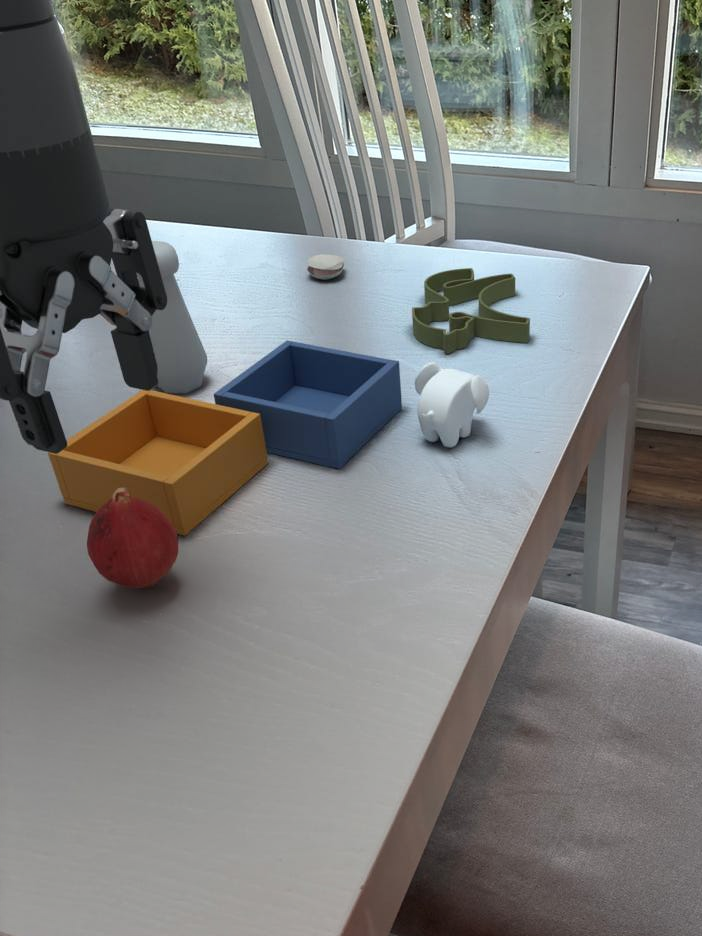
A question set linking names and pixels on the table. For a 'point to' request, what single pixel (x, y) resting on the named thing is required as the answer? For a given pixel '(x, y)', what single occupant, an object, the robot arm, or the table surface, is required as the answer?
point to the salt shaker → (175, 332)
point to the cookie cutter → (463, 325)
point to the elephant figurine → (448, 402)
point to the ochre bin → (163, 456)
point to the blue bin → (317, 400)
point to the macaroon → (325, 266)
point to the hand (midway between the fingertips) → (98, 416)
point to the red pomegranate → (131, 541)
